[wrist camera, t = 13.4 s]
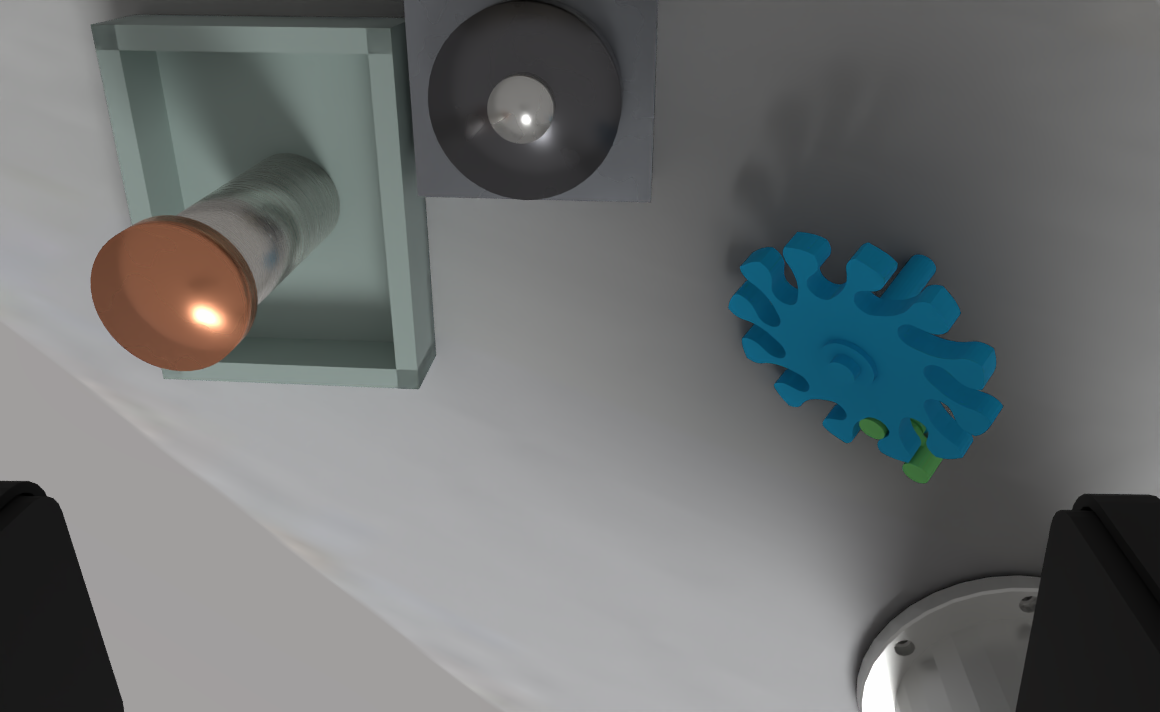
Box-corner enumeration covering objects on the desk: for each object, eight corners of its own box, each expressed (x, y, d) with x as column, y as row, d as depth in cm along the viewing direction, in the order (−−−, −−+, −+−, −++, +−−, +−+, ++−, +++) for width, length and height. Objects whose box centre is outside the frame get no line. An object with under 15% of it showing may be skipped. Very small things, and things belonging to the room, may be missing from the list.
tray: (436, 355, 39) (418, 389, 36) (198, 346, 40) (163, 378, 37) (412, 18, 33) (390, 28, 31) (136, 14, 34) (90, 24, 31)
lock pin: (356, 258, 37) (254, 374, 28) (245, 254, 37) (108, 367, 28) (344, 143, 35) (231, 228, 26) (227, 141, 35) (74, 223, 26)
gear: (676, 257, 35) (923, 260, 27) (766, 161, 37) (1017, 138, 29) (794, 467, 40) (1030, 522, 32) (866, 371, 42) (1102, 400, 34)
